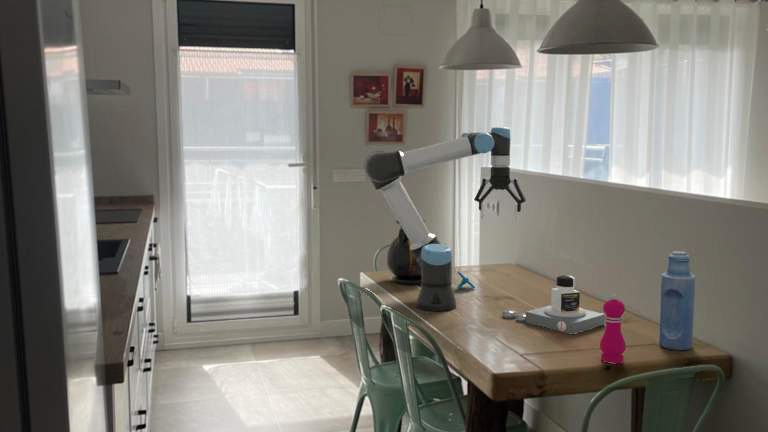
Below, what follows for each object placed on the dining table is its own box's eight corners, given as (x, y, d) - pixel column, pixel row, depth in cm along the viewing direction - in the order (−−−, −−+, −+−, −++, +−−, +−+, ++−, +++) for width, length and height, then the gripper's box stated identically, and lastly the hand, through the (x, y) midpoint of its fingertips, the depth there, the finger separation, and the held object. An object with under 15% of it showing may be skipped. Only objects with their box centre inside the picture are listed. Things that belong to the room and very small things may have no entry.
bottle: (696, 345, 221) (701, 251, 218) (685, 353, 214) (690, 255, 210) (665, 339, 228) (669, 248, 224) (654, 347, 220) (658, 252, 217)
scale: (572, 335, 233) (572, 320, 233) (524, 322, 249) (524, 309, 248) (604, 325, 245) (605, 311, 244) (557, 313, 260) (557, 300, 260)
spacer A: (510, 319, 254) (510, 314, 253) (499, 317, 257) (499, 311, 257) (519, 317, 257) (519, 311, 257) (508, 314, 261) (508, 309, 260)
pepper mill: (594, 360, 208) (596, 294, 205) (606, 355, 213) (609, 290, 210) (617, 366, 203) (620, 298, 200) (629, 360, 208) (632, 294, 205)
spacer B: (525, 323, 249) (525, 318, 248) (513, 320, 252) (513, 315, 252) (533, 320, 252) (533, 315, 252) (522, 318, 256) (522, 312, 255)
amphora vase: (420, 288, 302) (420, 224, 299) (377, 283, 313) (377, 221, 309) (442, 279, 321) (442, 218, 317) (400, 274, 331) (400, 215, 328)
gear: (477, 287, 296) (460, 271, 296) (467, 297, 296) (450, 281, 296) (474, 285, 307) (458, 269, 308) (464, 295, 307) (448, 279, 307)
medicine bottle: (560, 313, 242) (561, 278, 240) (550, 308, 249) (551, 274, 247) (579, 311, 244) (580, 277, 242) (568, 306, 251) (569, 273, 249)
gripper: (533, 166, 280) (532, 219, 282) (471, 165, 289) (471, 217, 291) (530, 167, 273) (529, 221, 275) (467, 166, 282) (466, 219, 284)
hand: (499, 219), depth 283 cm, fingers open, 13 cm apart
